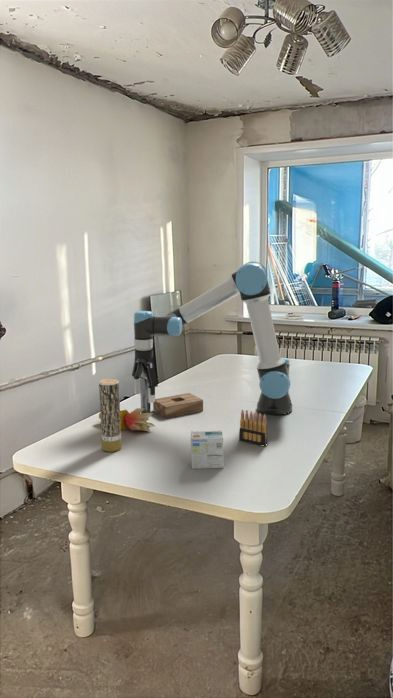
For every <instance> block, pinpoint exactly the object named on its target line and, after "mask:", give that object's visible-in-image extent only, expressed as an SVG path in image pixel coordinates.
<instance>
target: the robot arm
mask: <svg viewBox="0 0 393 698" xmlns="http://www.w3.org/2000/svg"><path fill="white" fill-rule="evenodd" d="M267 271H268V270H267V268H266V267H265V266H264V265H263V264H262V263H260V262H258V261H249V262H246V263H244V264H243V265H241V266H240V267H239V268H238V270H237V271H235V272H233V273H232V274H230V277H229V278H228V279H226V280H224V281H223V282H221V283H220V284H218V285H216V286H214V287H213V288H210V289H208V291H206V292H204V293H202V294H201V295H199V296H197V297H195V298H194V299H192V300H190V301H188V302H187V303H185V304H183V305H181V306H179V308H176V309H174V310H173V311H170V312H169V313H167V315H165V316H154V314H153V312H152V311H151V310H138V311H136V312H134V315H133V317H134V318H133V328H134V329H133V330H134V332H133V333H134V338H133V340H134V342H133V343H134V348H135V349H134V362H133V363H134V364H133V367H132V373H131V376H132V377H133V379H134V394H135V395H140V378H141V377H142V374H145V377H146V378H147V381H148V384H149V386H148V402H149V403H150V404H151V403H152V404H153V402H155V399H156V388H157V387H159V385H158V379H157V375H156V370H155V363H154V362H151V361H150V360H151V359H153V357H154V349H153V347H154V340H153V338H154V337H153V336H168V337H169V336H170V337H174V336H177V337H178V336H180V335H181V334H182V331H183V326H185V325H187V324H189V323H190V322H192V321H195V320H196V319H197V318H199V317H201V316H203V315H204V314H206V313H208V312H210V311H212V310H213V309H215V308H217V307H219V306H220V305H222V304H225V303H226V302H228V301H229V300H231V299H233V298H235V297H236V296H238V295H239V297H240V300H241V302H243V303H244V304H245V305H246V308H247V309H246V310H247V314H248V317H249V322H250V326H251V330H252V336H253V339H254V343H255V348H256V349H255V350H256V353H257V357H258V364H257V366H256V369H257V373H258V378H259V388H260V391H261V392H260V393H259V394H260V395H259V398H258V401H257V403H256V410H257V411H258V412H259V413H261V414H263V415H264V414H265V415H269V414H272V415H271V416H279V415H278V414H284V413H288V412H290V411H291V410H292V411H293V404H292V400H291V396H290V393H289V390H290V389H291V388H290V387H291V380H290V367H291V365H290V360H289V359H288V358H287V357H281V353H280V349H279V343H278V340H277V334H276V330H275V325H274V321H273V317H272V312H271V307H270V303H269V297H270V296H271V294H272V293H271V288H270V284H269V279H268V272H267ZM290 413H291V412H290ZM275 414H277V415H275ZM288 414H289V413H288ZM284 415H285V414H284Z"/></svg>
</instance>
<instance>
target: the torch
mask: <svg viewBox="0 0 393 698" xmlns="http://www.w3.org/2000/svg"><path fill="white" fill-rule="evenodd" d="M143 410H144V409H141V407H139V408H135V409H134V410H132V411H130V412H129V411H128V410H127V409H123V410H120V423H121V430H123V431H125V430H127V429H128V428H129V429H130V430H131V431H143V432H144V431H145V432H149V433H150V432H151V430H150V428H153V427H156V425H155V424H154V423H152V422H147V421H149V420H150V417H151V416H152V415H153V414H154V413H152V412H151V413H143V414H141V412H142V411H143ZM98 419H99V420H101V414H100V413H99V414H98Z"/></svg>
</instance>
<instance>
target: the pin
mask: <svg viewBox="0 0 393 698" xmlns="http://www.w3.org/2000/svg"><path fill="white" fill-rule="evenodd" d="M139 379H140V394H139V395H140V408H141V409H144V410H143V411H142V412H141V413H140V414H143V413H152V412H151V403H149V402H148V386H149V384H148V381H147V378H146V376H141V378H139Z"/></svg>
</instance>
